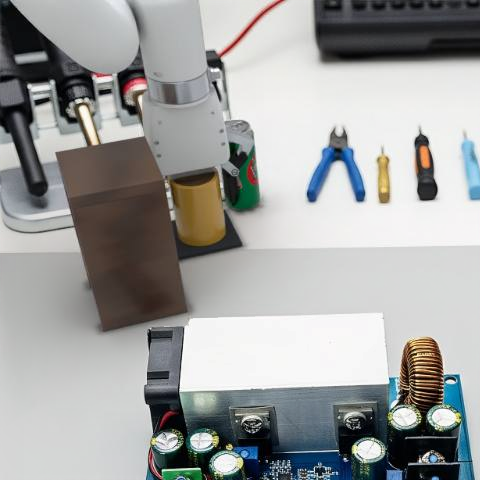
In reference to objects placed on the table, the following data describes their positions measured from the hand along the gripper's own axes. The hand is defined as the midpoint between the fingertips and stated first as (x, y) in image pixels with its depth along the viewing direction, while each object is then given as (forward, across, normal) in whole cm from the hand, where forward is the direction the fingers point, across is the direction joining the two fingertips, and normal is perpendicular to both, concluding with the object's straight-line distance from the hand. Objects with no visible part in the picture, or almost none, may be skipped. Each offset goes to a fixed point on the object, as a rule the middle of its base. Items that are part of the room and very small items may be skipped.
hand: (196, 204), depth 133 cm
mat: (+5, 0, 0) cm, 5 cm away
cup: (+4, 0, 0) cm, 4 cm away
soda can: (+5, -8, -6) cm, 11 cm away
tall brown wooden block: (+5, +11, +10) cm, 16 cm away
